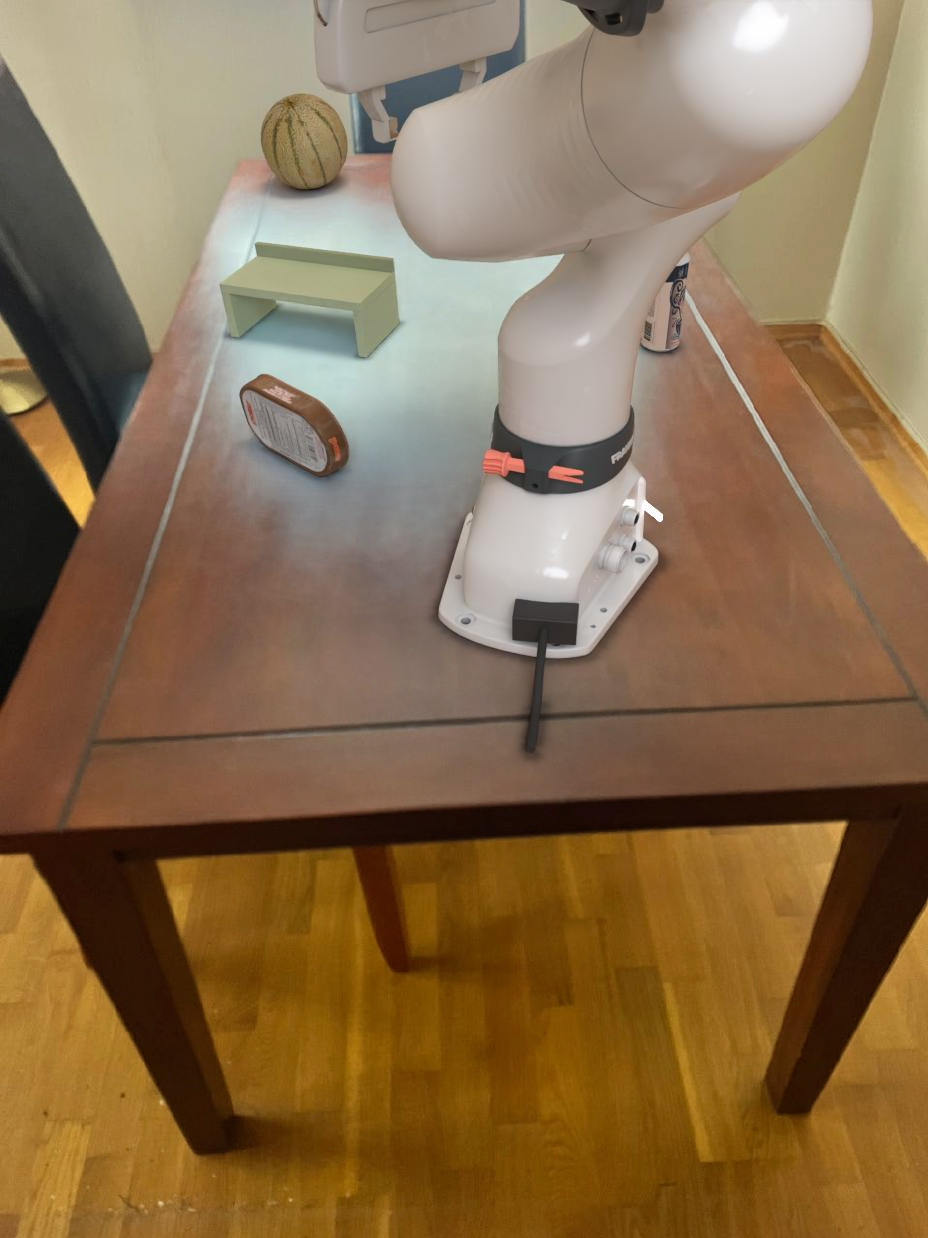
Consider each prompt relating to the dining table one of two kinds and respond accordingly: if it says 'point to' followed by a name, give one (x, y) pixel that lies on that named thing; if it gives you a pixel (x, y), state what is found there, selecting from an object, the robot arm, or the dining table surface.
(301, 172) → the cantaloupe
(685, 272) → the beer can
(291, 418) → the tin
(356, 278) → the shelf
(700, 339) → the dining table surface
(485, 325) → the dining table surface
